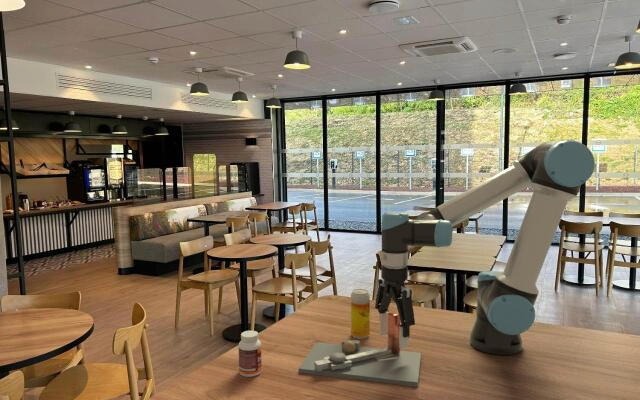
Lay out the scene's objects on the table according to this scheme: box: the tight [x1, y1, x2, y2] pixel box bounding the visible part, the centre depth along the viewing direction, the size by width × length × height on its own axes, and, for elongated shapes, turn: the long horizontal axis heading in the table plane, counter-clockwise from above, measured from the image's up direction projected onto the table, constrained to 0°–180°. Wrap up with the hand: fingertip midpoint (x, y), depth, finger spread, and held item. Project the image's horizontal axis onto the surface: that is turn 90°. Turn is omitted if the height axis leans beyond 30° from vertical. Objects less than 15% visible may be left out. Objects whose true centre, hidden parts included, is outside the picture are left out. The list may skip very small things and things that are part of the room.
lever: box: [314, 311, 401, 371], centre depth 132 cm, size 27×6×12 cm, turn 115°
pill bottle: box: [238, 330, 263, 378], centre depth 129 cm, size 6×6×11 cm
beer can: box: [350, 288, 371, 340], centre depth 153 cm, size 6×6×15 cm
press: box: [298, 338, 422, 388], centre depth 133 cm, size 32×18×5 cm, turn 75°
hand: (393, 340), depth 137 cm, fingers open, 9 cm apart
